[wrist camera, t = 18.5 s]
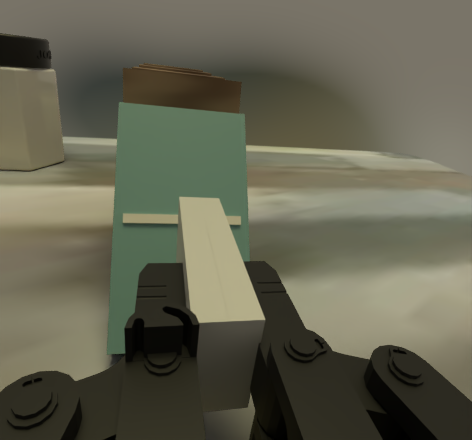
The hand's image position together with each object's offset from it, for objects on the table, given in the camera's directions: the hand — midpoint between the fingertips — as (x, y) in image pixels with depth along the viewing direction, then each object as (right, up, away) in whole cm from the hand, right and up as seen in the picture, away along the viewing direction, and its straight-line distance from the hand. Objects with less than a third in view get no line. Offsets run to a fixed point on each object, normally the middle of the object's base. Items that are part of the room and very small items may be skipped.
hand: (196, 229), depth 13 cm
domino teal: (-1, -5, +2) cm, 5 cm away
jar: (-22, +7, +23) cm, 32 cm away
